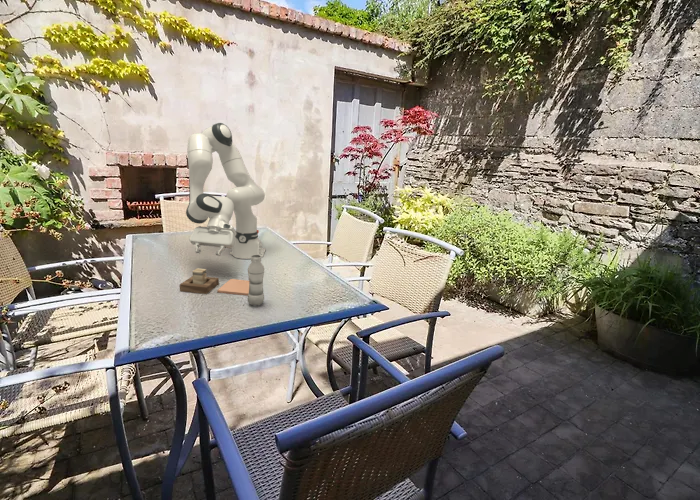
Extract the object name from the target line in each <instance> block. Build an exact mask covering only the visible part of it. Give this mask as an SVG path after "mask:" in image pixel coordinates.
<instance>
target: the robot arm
mask: <svg viewBox="0 0 700 500" xmlns="http://www.w3.org/2000/svg"><path fill="white" fill-rule="evenodd" d="M231 131H232V130H231V129H230V128H229V126H228V125H226V124H224V123H222V122H218V123H215V124H212V125H211V126H209V127H208V128H205V129H204V130H203V131H202V132H201V133H193V134H191V135H189V137H188V140H187V141H188V142H187V165H188V179H189V181H188V182H189V184H188V186H189V188H188V189H189V191H188V192H189V196H188V198H189V202H188V205H187V207H186V210H185V215H186V217H187V219H188V220H189V221H190V222H192V223H194V224H198V225H199V224H201V226H200V225H199V226H197V227H194V229H193V231H192V233H191V235H190V236H189V242H190V243H191V244H192V245H193V246H195V248H196V249H195V254H201V251H202V250H201V249H200V248H201V246H202V247H203V246H205V247H214V248H219V250H216V252H215V255H216V256H222V255H221V254H222V253H223V252H224V251H225V250H226V249H231V250H232V251H230V252H229V254H230V255H232V256H233V257H235V258H236V259H241V260H251V256H252V255H260V256H261V258H264V255H265V253H266V248H264V247H262V245H263V244H262V243H263V242H262V240H261V239H260V238H259V232H260V231H259V229H257V227H258V226H257V224H258V223H257V222H258V221H257V220H258V219H257V215H255V214H254V213H253V209H252V206H257V205H260V204H261V203H262V202H263V201H264V200H265V198H266V196H265V195H266V193H265V191H264V189H263V188H262V187H261V186H259V185H258V184H257V183H256V182H255V180H254V179H253V178H252V177H251V175H250V173H249V172H248V169H247V167H246V165H245V163H244V160H243V157H242V155H241V152H240V151H239V150H238V148H237V146H236V144H235V143H234V142H233V135H232V132H231ZM215 152H216V153H217V154H218V158H219V161H220V163H221V165H222V168H223V171H224V173H225V176H226V177H227V180H228V181H230V182H231V183H232V184H234V186H235V187H234V188H230V189H229V190H228V191H227V192H226V196H215V195H211V194H209V193H206V192H205V193H204V186H205V183H206V180H207V178H208V176H209V175H210V173H211V171H212V170H213V161H214V160H213V153H215ZM233 213H234V215H235V228H234V226H233V225H231V224H230V221H231V220H232V218H233ZM208 219H209V220H208ZM207 220H208V223H207V225H206V226H202V224H204V223H206V221H207Z"/></svg>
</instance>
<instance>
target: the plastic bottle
mask: <svg viewBox="0 0 700 500" xmlns="http://www.w3.org/2000/svg"><path fill="white" fill-rule="evenodd" d="M250 261H251V263H250V264H249V265H248V267H247V275H248V281H249V293H248V296H247V303H248V304H249V305H250V306H254V307H257V306H261V305H263V303H264V302H265V294H264V275H265V267H264V265H263V263H262V262H261V261H262V257H261V256H260V255H252V256H251V259H250Z"/></svg>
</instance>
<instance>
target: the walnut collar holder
mask: <svg viewBox="0 0 700 500" xmlns="http://www.w3.org/2000/svg"><path fill="white" fill-rule="evenodd" d="M206 278H207V282H206V283H205V284H204V285H202V284H193V275H191V276H190V277H189V278H187V279H186V280H185V281H183V282H181V283H180V284H179V292H182V293H191V294H192V293H193V294H202V295H203V294H204V295H208V294H209V293H210V292H212V291H213V290H214V289H215V288H216V287H218V286H219V285H220V279H219V277H212V276H206Z"/></svg>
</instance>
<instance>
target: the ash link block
mask: <svg viewBox="0 0 700 500" xmlns="http://www.w3.org/2000/svg"><path fill="white" fill-rule="evenodd" d="M191 273H192V275H191V276H193V284H202V285H204V284H205V283H206V282H207V278H206V277H207V268H195V269H194V270H192V272H191Z"/></svg>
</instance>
